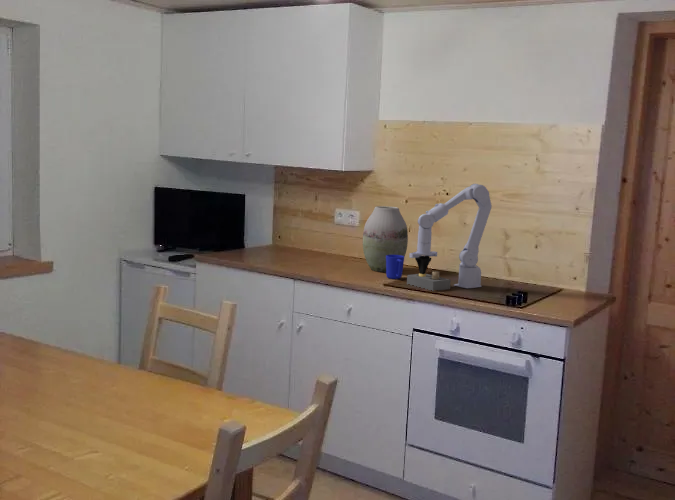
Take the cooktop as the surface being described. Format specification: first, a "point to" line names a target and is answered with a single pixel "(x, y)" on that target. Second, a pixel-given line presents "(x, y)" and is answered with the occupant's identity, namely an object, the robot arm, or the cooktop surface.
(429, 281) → the block
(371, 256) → the vase
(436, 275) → the birch peg
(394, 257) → the mug
